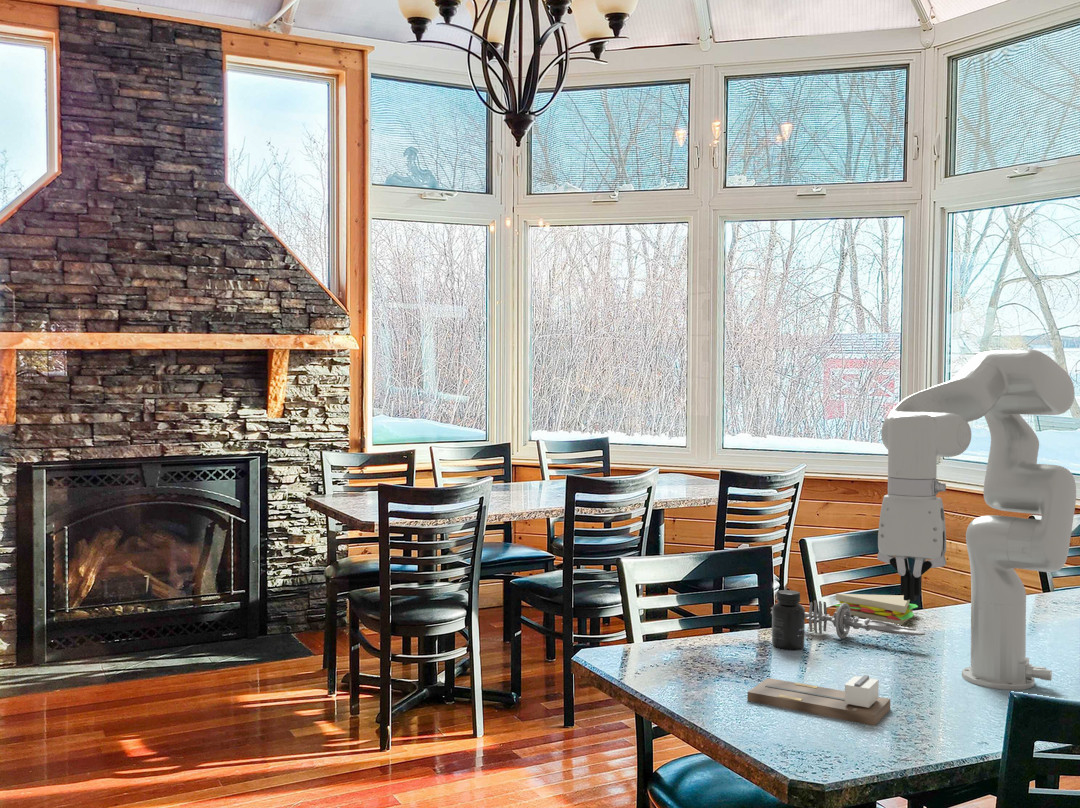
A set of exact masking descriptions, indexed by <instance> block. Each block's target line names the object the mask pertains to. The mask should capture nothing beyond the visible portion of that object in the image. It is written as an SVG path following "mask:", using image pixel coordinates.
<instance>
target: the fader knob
mask: <svg viewBox="0 0 1080 808" xmlns="http://www.w3.org/2000/svg"><path fill="white" fill-rule="evenodd" d="M844 691H845V704H851V705H856V706H862V707H868V708H869V707H870V706H871V705H872V704H873V703H874V702H875V701H876V700H877V699H878V697H879V679H875V678H871V677H870V676H869V675H867V674H863V676H857V675H855V676H853V677H852V678H850V680H848V681H847V682H846V683H845V684H844Z"/></svg>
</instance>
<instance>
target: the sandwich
mask: <svg viewBox="0 0 1080 808" xmlns="http://www.w3.org/2000/svg"><path fill="white" fill-rule="evenodd" d="M835 601H838V602H839V604H833V606H834V607H835V612H837V611H838V609H839V607H840V605H841V604H843V603H847V604H848V605H849V607H850V610H851V616H852V617H859V618H861V619H868V618H869V619H871V620H876V621H877V620H878V621H883V622H889V623H894V624H899V625H902V624H903V623H904V622H905V623H906V622H907V621H909V619H911V618H913V617H914V615H915V613H914V611H913V610H914V609H917V608H919V605H917V604H916V603H910V602H911V600H908V601H906V600H904V594H900V595H898V594H896V595H895V594H865V593H863V594H861V593H860V594H859V593H858V594H855V593H836V594H835ZM845 614H846V613H845ZM845 614H844V615H845ZM905 623H904V624H905ZM904 624H903V625H904ZM903 625H902V626H903Z"/></svg>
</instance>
